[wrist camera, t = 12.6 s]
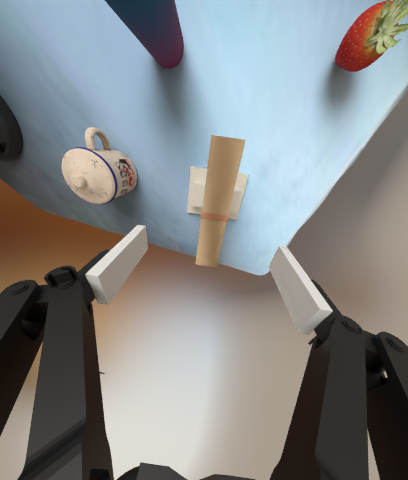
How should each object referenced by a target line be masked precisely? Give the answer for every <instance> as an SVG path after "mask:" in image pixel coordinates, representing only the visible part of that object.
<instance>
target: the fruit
mask: <svg viewBox="0 0 408 480" xmlns="http://www.w3.org/2000/svg"><path fill="white" fill-rule="evenodd" d="M398 2H399V0H394V1H393V2H392V1H390V0H387V1H384V2H381V3H377V4H375V5H373V6H372V7H370V8H368V9H367V10H366V11H365V12H363V13H362V14H361V15H360V16H359V17H358V18H357V19H356V21H355V22H354V23H353V25H352V26H351V27H350V29H349V30H348V32H347V33H346V35H345V37H344V38H343V40H342V42H341V44H340V46H339V49H338V51H337V53H336V57H335V62H336V64H337V65H338V66H339V67H341V68H344V69H346V70H347V71H350V72H356V71H359V70H362V69H364V68H366V67H368V66H369V65H371V64H372V63H373V62H375V61H376V60H377V59H378V58H379V57H380V56H381V55H382V54H383V53H384V52H385V51H386V49H387V48H388V47H393V46H394V45H395V44H396V43H397V42H398V41H399V40H400V39H399V40H397V41H396V40H394V39H393V37H394V35H396V34H399V33H401V32H404V31H405V30H407V29H408V24H401V25H398V22H400V21H401V20H402V19H403V18H404V17H405V16H406V15H407V14H408V6H407V7H406V8H404V7H405V6H406V5H407V4H408V0H402V1H401V2H400V4H399V5H397V4H398ZM403 8H404V9H403ZM402 9H403V10H402ZM401 10H402V11H401ZM400 11H401V12H400Z"/></svg>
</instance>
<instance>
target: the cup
mask: <svg viewBox="0 0 408 480" xmlns="http://www.w3.org/2000/svg"><path fill="white" fill-rule="evenodd" d="M105 1H106V2H107V4H108V5H109V6H110V7H111V8H112V9H113V11H114V12H115V13H116V14H117V15H118V16H119V18H120V19H121V20H122V21H123V22H124V23H125V25H126V26H127V27H128V28H129V29H130V30H131V32H132V33H133V34H134V35H135V36H136V38H137V39H138V40H139V41H140V42H141V43H142V45H143V46H144V47H145V48H146V49H147V50H148V52H149V53H150V54H151V55H152V56H153V57H154V59H155V60H156V61H157V62H158V63H159V64H160V65H161V66H162V67H164V68H167V69H171V68H174V67H175V66H176V65H177V64H178V63H179V62H180V60H181V58H182V54H183V37H182V32H181V28H180V23H179V18H178V14H177V9H176V5H175V0H105Z"/></svg>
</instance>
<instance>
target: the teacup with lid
mask: <svg viewBox="0 0 408 480" xmlns="http://www.w3.org/2000/svg"><path fill="white" fill-rule="evenodd" d="M95 134H97V135H98V136H99V137H100V139H101V141H102V143H103V147H104V150H96V149H95V145H94V135H95ZM85 142H86V146H87V148H82V147H78V148H73V149H71V150H69V151H68V152H67V153H66V154H65V155H64V157H63V159H62V172H63V175H64V178H65V180H66V182H67V184H68V185H69V187H70V188H71V189H72V190H73V191H74V192H75V193H76V194H77V195H78V196H79V197H81V198H82V199H84V200H86V201H88V202H91V203H95V204H106V203H109V202H110V201H112V200H113V199H114V198H116V197H118V196H121V195H123V194H125V193H127V192H130V191H131V190H133V189H134V188H135V186H136V184H137V171H136V168H135V166H134V164H133V163H132V161H131V160H130V159H129V158H128V157H127V156H126V155H125V154H123V153H122V152H119V151H117V150H111V147H110V143H109V140H108V138H107V137H106V135H105V134H104V133H103V132H102V131H101V130H99V129H97V128H93V127H90V128H88V129H87V130H86V132H85Z"/></svg>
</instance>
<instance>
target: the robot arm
mask: <svg viewBox="0 0 408 480" xmlns="http://www.w3.org/2000/svg"><path fill="white" fill-rule="evenodd" d="M21 150H22V137H21V133H20V129H19V127H18V124H17V122H16V120H15V118H14V116H13V114H12V112H11V111H10V109H9V107H8V106H7V104H6V103H5V102H4V100H3V99H2V98H1V97H0V161H6V160H13V159H15V158H17V157H18V156H19V154H20V152H21ZM147 249H148V246H147V235H146V226H142V225H137V226H136V227H135V228H134V229H133V230H132V231H131V232H130V233H129V234H128V235H127V236H125V237H124V238H123V239H122V240H121V241H120V242H119V243H118V244H117V245H116V246H115V247H114V248H113V249H112V250H105V251H103V252H101V253H99V254H98V255H97V256H96V257H95V258H94V259H92V260H91V261H90V262H89V263H88V264H87V265H85V266H84V267H83V268H82V269H81V270H80V271H78V272H76V270H75V268H74V267H72V266H63V267H59V268H56V269H54V270H52V271H50V272H49V273H48V274H46V276H45V277H44V279H45V281H46V282H47V284H48V285H39V286H38V284H37V283H36V281H33V280H25V281H20V282H17V283H15V284H12V285H11V286H9V287H7V288H6V289H5V290H4V291H2V292H1V294H0V436H1V433H2V431H3V429H4V427H5V424H6V422H7V420H8V417H9V415H10V413H11V411H12V409H13V406H14V404H15V402H16V399H17V397H18V395H19V393H20V391H21V388H22V386H23V384H24V382H25V379H26V377H27V375H28V373H29V370H30V368H31V366H32V364H33V361H34V359H35V357H36V355H37V352H38V350H39V348H40V346H41V343H42V341H43V345H42V352H41V358H40V366H39V372H38V379H37V386H36V394H35V400H34V407H33V413H32V421H31V427H30V434H29V442H28V448H27V455H26V461H25V466H24V469H23V471H22V474H21V475H20V477H19V478H18V480H114V477H113V468H112V459H111V452H110V447H109V443H108V440H107V436H106V430H105V422H104V412H103V403H102V393H101V383H100V374H99V365H98V355H97V345H96V336H95V326H94V317H93V308H92V304H91V302H92V301H93V300H94V298H96V301H97V303H100V304H107V305H109V303H110V302H111V300H112V299H113V297H114V296H115V295H116V293H117V292H118V291H119V289H120V288H121V286H122V285H123V283H124V282H125V281H126V279H127V278H128V276H129V275H130V274H131V272H132V271H133V269H134V268H135V266H136V265H137V264H138V262H139V260H140V259H141V258H142V257H143V255H144V254H145V252H146V251H147ZM269 269H270V271H271V273H272V275H273V278H274V280H275V282H276V284H277V286H278V289H279V291H280V293H281V295H282V298H283V300H284V302H285V305H286V307H287V309H288V311H289V313H290V316H291V318H292V320H293V323H294V325H295V327H296V329H297V332H298V333H303V334H310V333H311V332H312V331H313V330H314V331H315V333H316V334H317V335H316V336H315V337H314V338H313V339H312V340H311V341H310V342H309V343H308V344H312V343H313V344H312V348H311V351H310V355H309V359H308V362H307V366H306V370H305V373H304V377H303V381H302V384H301V388H300V391H299V395H298V398H297V402H296V406H295V409H294V413H293V416H292V420H291V424H290V427H289V431H288V435H287V438H286V442H285V446H284V449H283V453H282V456H281V459H280V461H279V463H278V464H277V466H276V467H275V468H274V470H273V473H272V475H271V478H270V480H369V473H368V438H367V428H368V432H369V436H370V440H371V444H372V448H373V452H374V456H375V460H376V465H377V468H378V472H379V477H380V480H408V346H407V345H406V344H405V343H403V341H401V340H400V339H399V338H397V337H395V336H393V335H392V334H389V333H387V332H380V333H378V334H377V335H374V334H371V333H369V332H367V331H364V330H362V328H361V327H360V326H359V325H358V324H357V323H356V322H355V321H353V320H352V319H350V318H348V317H346V316H342V314H341V313H340V312H339V310H338V309H337V308H336V306H335V305H334V304H333V302H332V301H331V300H330V299H329V297H327V295H326V293H325V292H324V291H323V289H322V288H321V287H320V285H318V284H317V283H316V282H315V281H314V280H310V279H309V277H308V276H307V274H306V273H305V272H304V270H303V269H302V267H301V266H300V265H299V263H298V262H297V261H296V260H295V258H294V256H293V255H292V254H291V252H290V251H289V249H288V248H287V247H283V246H279V247H278V249H277V251H276V253H275V255H274V257H273V259H272V261H271V263H270V265H269ZM384 371H386V373H387V376H388V378H386V377H385V375H384V373H383V372H384ZM117 480H187V479H185V478H184V477H182V476H181V475H180V474H178V473H177V472H175V471H174V470H173V469H171V468H170V467H168V466H161V465H154V464H147V463H140V466H138V467H135V468H133V469H131V470H129V471H128V472H126V473H124V474H123V475H122V476H120V477H119V478H118V479H117ZM200 480H255V479H249V478H242V477H235V476H229V475H218V474H214V475H211V476H209V477H206V478H203V479H200Z"/></svg>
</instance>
